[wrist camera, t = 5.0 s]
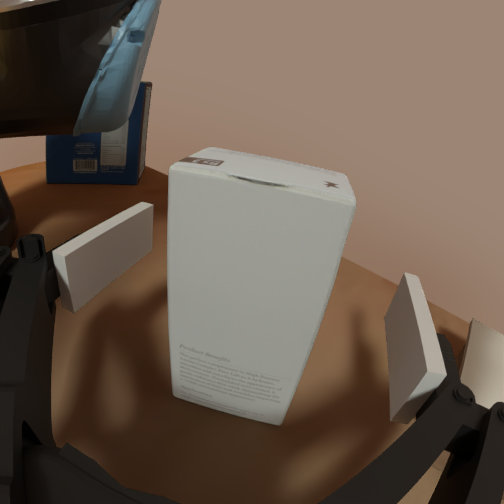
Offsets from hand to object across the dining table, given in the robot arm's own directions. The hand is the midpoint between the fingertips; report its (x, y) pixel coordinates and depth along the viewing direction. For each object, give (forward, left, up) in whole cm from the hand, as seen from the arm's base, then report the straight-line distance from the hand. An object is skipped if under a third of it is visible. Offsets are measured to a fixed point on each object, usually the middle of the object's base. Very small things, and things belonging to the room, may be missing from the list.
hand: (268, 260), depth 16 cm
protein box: (-41, +9, -7) cm, 43 cm away
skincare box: (+1, -2, -7) cm, 8 cm away
